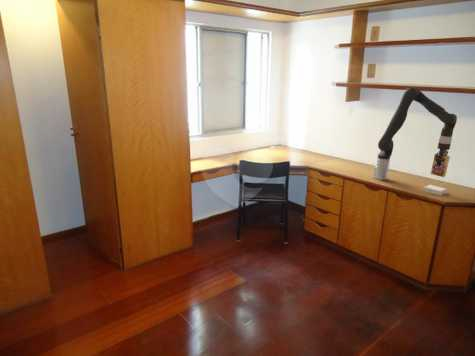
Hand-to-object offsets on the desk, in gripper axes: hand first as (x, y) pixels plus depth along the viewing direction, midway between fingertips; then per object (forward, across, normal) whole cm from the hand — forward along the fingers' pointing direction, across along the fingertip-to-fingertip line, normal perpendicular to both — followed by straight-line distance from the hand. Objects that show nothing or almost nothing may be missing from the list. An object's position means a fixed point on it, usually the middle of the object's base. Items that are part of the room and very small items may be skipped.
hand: (439, 165), depth 245 cm
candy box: (+7, 0, 0) cm, 7 cm away
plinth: (+20, 0, 0) cm, 20 cm away
